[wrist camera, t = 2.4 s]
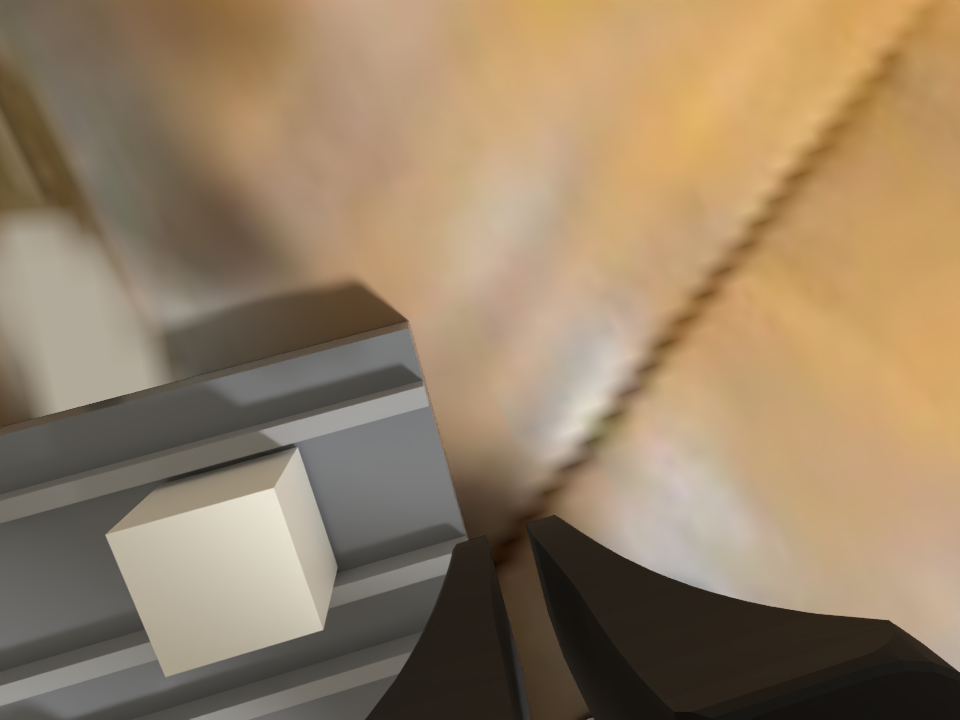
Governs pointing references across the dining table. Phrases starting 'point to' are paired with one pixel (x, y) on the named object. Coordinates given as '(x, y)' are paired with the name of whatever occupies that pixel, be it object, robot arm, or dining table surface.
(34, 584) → the switch board
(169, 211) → the dining table surface
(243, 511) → the switch tab
